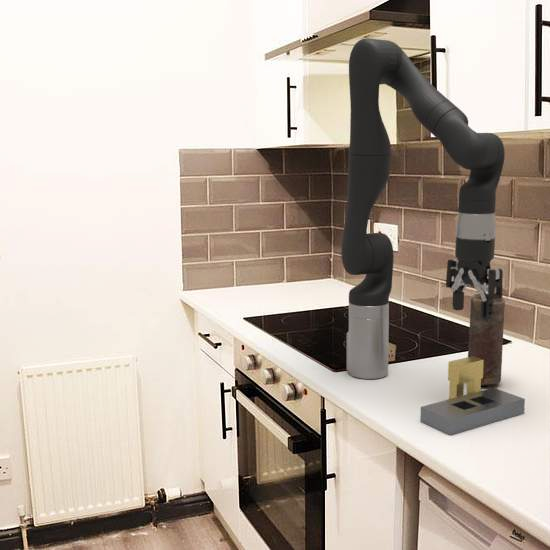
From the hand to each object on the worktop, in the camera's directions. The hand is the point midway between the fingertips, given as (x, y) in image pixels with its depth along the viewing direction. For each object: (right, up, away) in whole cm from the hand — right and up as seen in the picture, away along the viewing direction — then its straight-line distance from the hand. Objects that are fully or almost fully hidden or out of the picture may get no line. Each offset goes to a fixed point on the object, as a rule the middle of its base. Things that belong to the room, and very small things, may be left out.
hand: (471, 314), depth 142 cm
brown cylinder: (+7, -17, +15) cm, 23 cm away
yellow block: (0, -18, +5) cm, 19 cm away
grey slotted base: (-1, -20, -5) cm, 21 cm away
